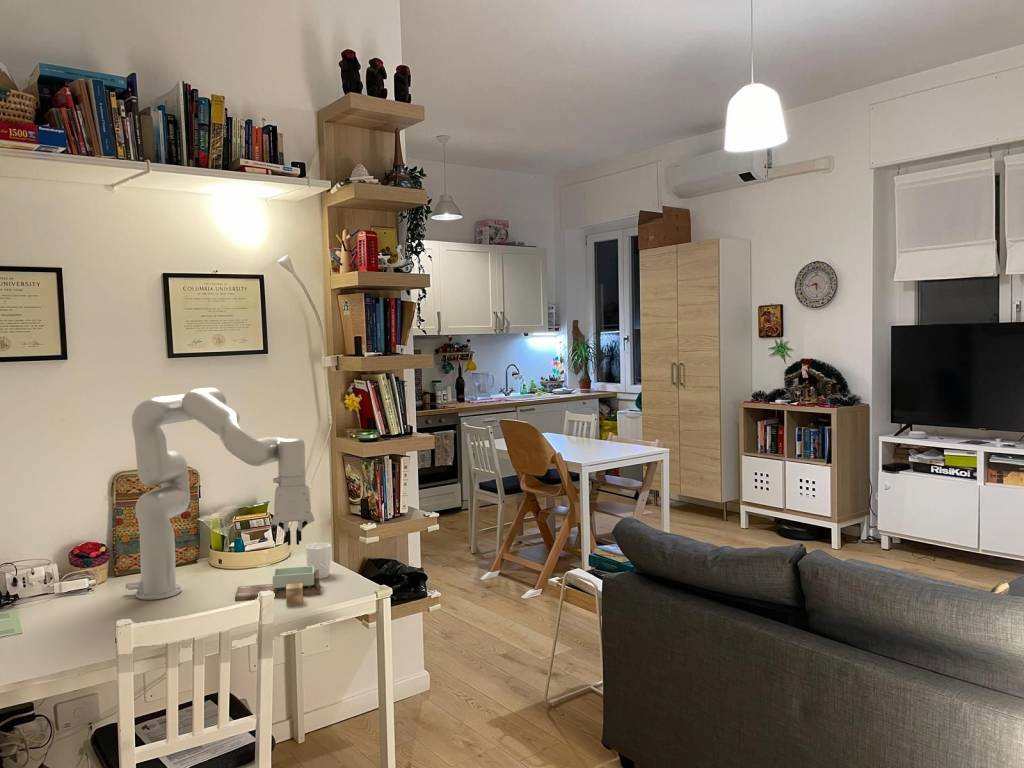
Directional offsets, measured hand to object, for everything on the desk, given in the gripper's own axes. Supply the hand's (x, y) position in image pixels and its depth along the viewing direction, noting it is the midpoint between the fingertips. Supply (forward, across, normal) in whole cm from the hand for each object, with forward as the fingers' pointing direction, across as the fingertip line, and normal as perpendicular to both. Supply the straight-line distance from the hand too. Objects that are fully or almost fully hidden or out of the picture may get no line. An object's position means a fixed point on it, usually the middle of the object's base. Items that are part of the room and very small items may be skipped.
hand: (293, 543), depth 224 cm
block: (+17, 0, 0) cm, 17 cm away
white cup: (+18, +7, +25) cm, 31 cm away
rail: (+17, -5, +11) cm, 21 cm away
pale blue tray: (+16, 0, +11) cm, 19 cm away
